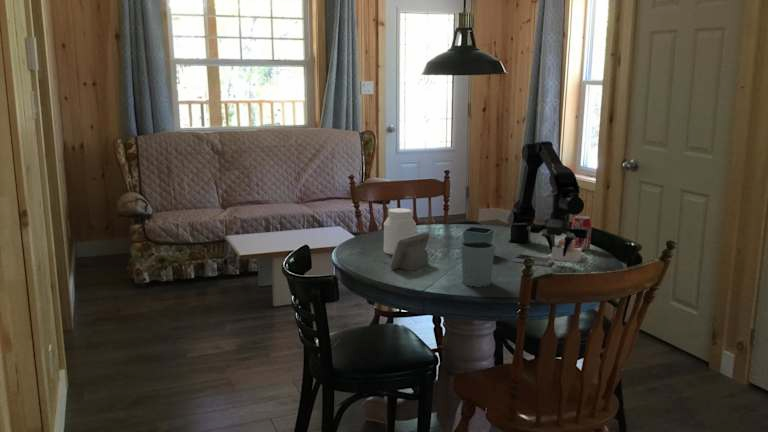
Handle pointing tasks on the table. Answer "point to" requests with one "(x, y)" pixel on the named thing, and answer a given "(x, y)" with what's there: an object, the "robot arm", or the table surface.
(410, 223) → the jar
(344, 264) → the table surface
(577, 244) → the soda can
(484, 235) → the flower pot
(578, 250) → the outlet plate
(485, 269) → the drinking glass
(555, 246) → the grey cube with tab
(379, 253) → the table surface
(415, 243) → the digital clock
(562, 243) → the block
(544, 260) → the phone
